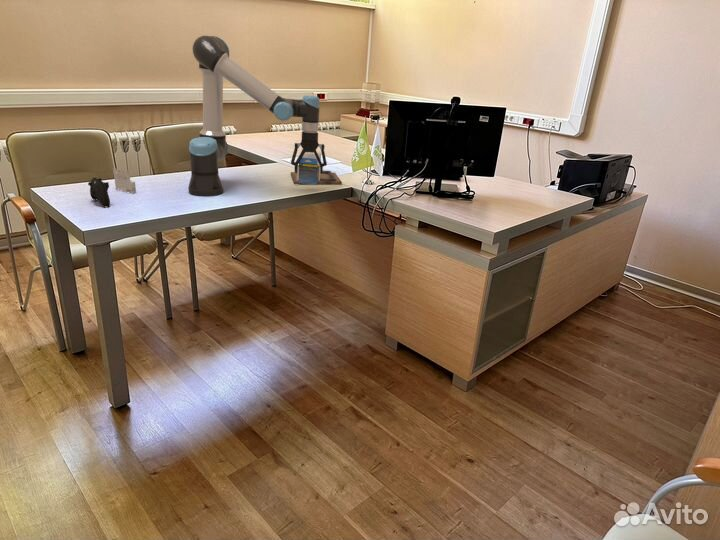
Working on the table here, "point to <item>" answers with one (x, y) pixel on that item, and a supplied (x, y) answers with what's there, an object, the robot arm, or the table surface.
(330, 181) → the stand
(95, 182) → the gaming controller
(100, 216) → the table surface
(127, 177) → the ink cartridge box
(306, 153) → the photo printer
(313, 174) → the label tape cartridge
